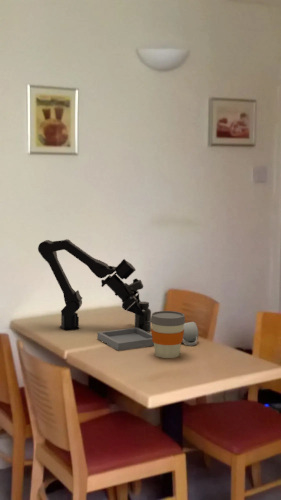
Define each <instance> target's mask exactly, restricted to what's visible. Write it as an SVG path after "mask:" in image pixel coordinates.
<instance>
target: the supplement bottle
mask: <svg viewBox="0 0 281 500" xmlns="http://www.w3.org/2000/svg"><path fill="white" fill-rule="evenodd" d="M138 306H139V307H140V309H141V310H142V312H143V313H144V314H145V315H144V316H143V317H142V316H140V315H137V314H135V313H134V328H136V327H137V328H139V329H142V330H144V331H146V332H148V331H149V332H150V331H151V329H152V323H151V316H152V310H151V309H150V308H149V307H150V302H148V301H141V302H138ZM149 332H148V333H149Z"/></svg>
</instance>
